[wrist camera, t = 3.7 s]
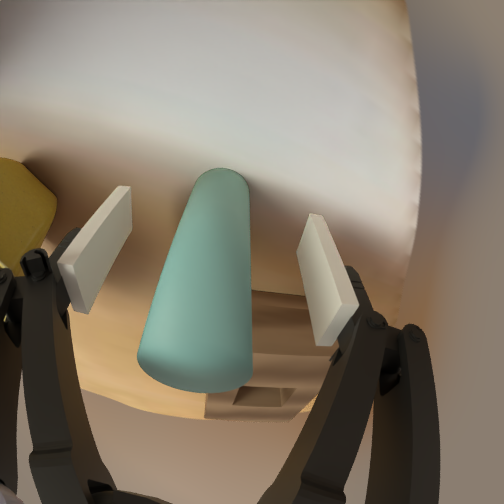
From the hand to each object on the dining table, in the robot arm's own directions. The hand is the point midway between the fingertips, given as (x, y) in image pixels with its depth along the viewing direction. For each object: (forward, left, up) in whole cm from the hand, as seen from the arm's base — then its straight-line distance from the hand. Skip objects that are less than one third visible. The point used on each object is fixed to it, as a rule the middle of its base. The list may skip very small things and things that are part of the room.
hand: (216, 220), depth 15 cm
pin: (0, 0, -3) cm, 3 cm away
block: (+16, +6, -3) cm, 17 cm away
